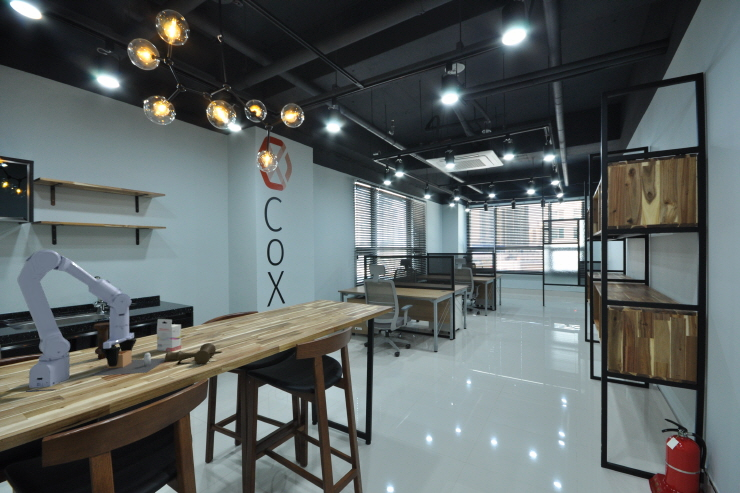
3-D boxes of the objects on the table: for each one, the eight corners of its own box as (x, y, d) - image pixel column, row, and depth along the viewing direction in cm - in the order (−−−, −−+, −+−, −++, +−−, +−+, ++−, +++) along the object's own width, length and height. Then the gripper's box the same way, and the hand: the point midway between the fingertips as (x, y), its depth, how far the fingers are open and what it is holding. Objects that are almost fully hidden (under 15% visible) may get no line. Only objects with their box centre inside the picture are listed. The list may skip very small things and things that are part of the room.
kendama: (171, 361, 130) (225, 355, 134) (161, 370, 120) (220, 363, 125) (170, 346, 130) (224, 341, 134) (161, 354, 120) (219, 348, 125)
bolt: (115, 359, 131) (115, 322, 131) (103, 363, 126) (103, 325, 126) (102, 359, 132) (102, 322, 132) (90, 363, 127) (90, 325, 127)
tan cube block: (122, 367, 117) (122, 354, 117) (107, 368, 117) (107, 355, 117) (131, 362, 122) (131, 350, 123) (116, 363, 122) (116, 351, 122)
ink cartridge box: (182, 351, 141) (181, 317, 141) (172, 355, 136) (171, 319, 136) (166, 350, 143) (166, 316, 143) (156, 353, 138) (156, 319, 139)
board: (147, 376, 111) (147, 359, 112) (89, 380, 109) (89, 362, 109) (169, 361, 127) (169, 346, 127) (119, 364, 125) (119, 348, 125)
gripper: (118, 329, 113) (118, 368, 113) (142, 321, 128) (142, 355, 127) (96, 330, 112) (96, 370, 112) (122, 321, 127) (122, 357, 126)
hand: (119, 362), depth 120 cm, fingers open, 7 cm apart
